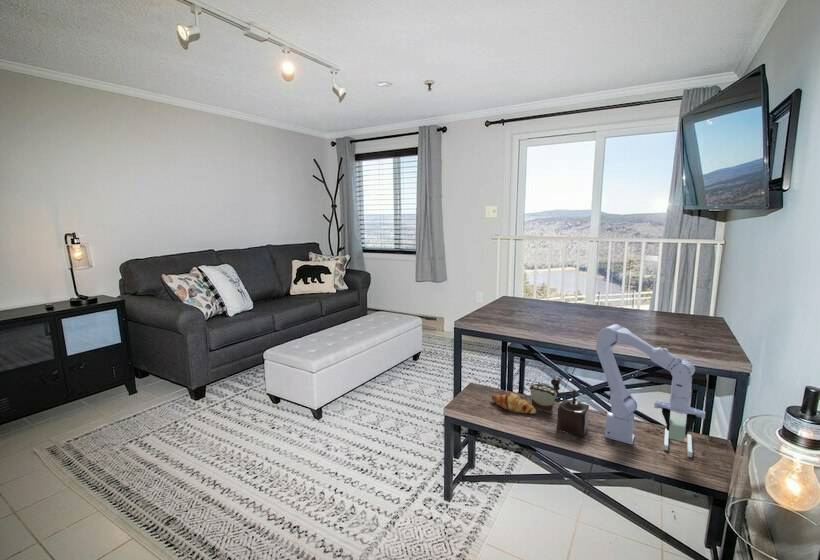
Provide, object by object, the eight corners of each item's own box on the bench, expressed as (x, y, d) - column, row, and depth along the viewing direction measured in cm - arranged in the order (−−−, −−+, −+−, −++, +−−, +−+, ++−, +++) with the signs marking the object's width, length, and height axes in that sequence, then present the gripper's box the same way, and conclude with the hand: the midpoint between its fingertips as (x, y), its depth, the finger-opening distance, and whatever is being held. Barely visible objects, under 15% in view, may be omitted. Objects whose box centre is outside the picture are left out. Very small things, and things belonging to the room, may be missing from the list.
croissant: (537, 419, 172) (541, 401, 174) (531, 417, 164) (535, 399, 166) (493, 405, 184) (497, 389, 186) (485, 403, 177) (490, 385, 178)
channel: (663, 449, 142) (664, 444, 142) (664, 433, 154) (665, 428, 153) (691, 457, 138) (692, 452, 137) (690, 439, 149) (691, 434, 149)
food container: (560, 409, 174) (561, 388, 172) (555, 414, 169) (556, 392, 168) (534, 401, 182) (535, 381, 181) (528, 405, 177) (529, 385, 176)
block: (668, 438, 135) (669, 424, 134) (668, 429, 140) (670, 416, 140) (684, 442, 132) (685, 428, 132) (684, 433, 138) (685, 420, 137)
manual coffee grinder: (588, 425, 160) (591, 384, 157) (583, 437, 151) (586, 393, 148) (550, 415, 168) (552, 376, 166) (543, 426, 159) (545, 384, 157)
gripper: (655, 394, 135) (652, 430, 137) (707, 404, 127) (703, 443, 129) (656, 387, 141) (653, 422, 143) (706, 396, 133) (701, 433, 135)
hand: (676, 431), depth 136 cm, fingers closed on block, 4 cm apart
